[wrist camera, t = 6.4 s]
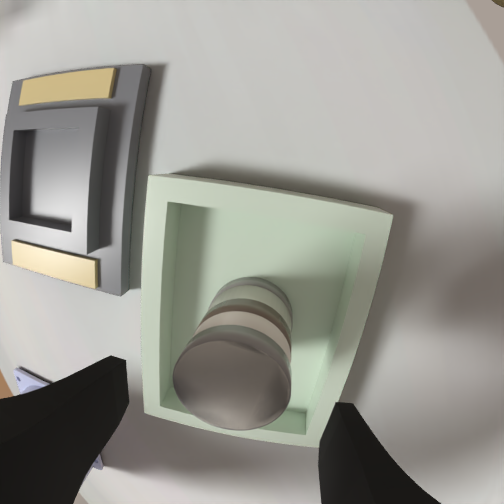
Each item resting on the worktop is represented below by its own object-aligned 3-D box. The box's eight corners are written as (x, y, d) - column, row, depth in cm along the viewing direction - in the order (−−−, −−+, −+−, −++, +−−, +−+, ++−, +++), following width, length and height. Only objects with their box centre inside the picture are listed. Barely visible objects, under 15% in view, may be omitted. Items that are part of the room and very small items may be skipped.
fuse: (289, 353, 16) (284, 435, 11) (211, 346, 17) (177, 421, 11) (296, 279, 15) (297, 344, 10) (210, 273, 16) (167, 331, 10)
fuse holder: (129, 289, 17) (110, 305, 15) (12, 258, 18) (-9, 266, 16) (151, 69, 14) (132, 57, 12) (22, 83, 15) (0, 79, 13)
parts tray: (317, 419, 18) (318, 447, 16) (158, 389, 19) (144, 413, 16) (377, 207, 15) (393, 215, 12) (169, 173, 15) (148, 175, 13)
